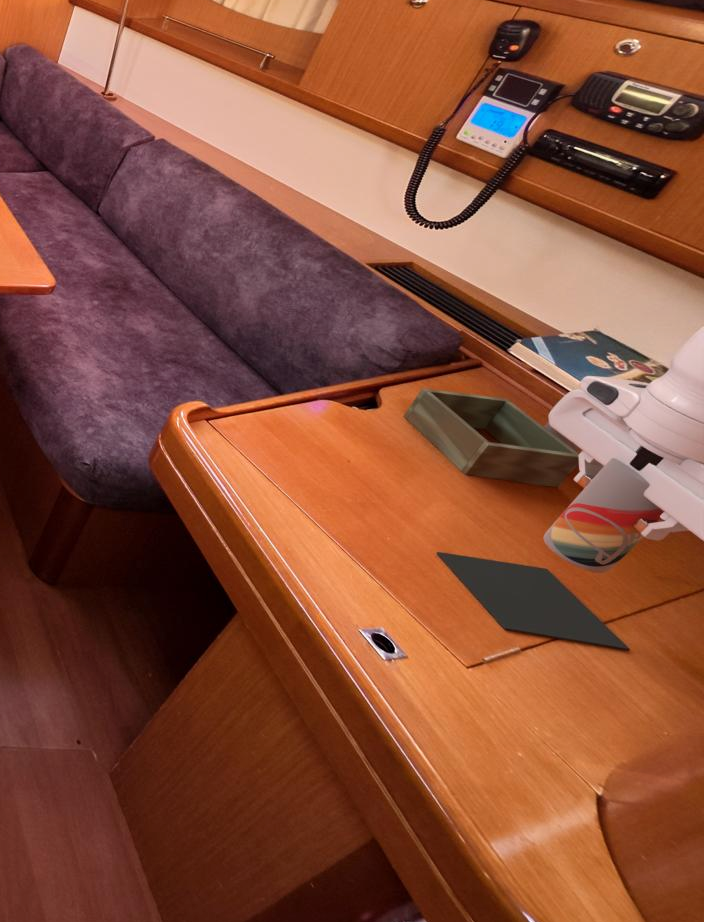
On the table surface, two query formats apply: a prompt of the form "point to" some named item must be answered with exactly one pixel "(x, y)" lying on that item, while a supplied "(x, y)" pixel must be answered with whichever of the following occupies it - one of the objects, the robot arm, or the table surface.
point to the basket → (522, 438)
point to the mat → (530, 601)
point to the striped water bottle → (605, 516)
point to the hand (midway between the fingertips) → (613, 509)
